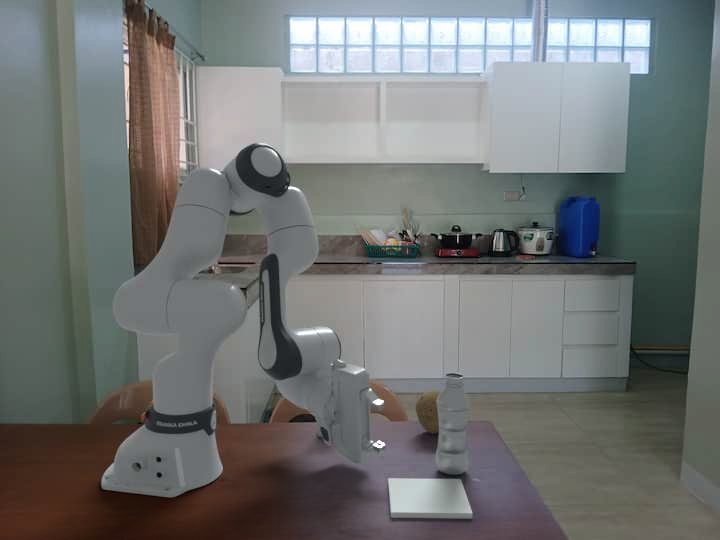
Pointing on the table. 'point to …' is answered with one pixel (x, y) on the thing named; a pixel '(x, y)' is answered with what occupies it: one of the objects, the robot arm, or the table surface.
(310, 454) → the table surface
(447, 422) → the plastic bottle
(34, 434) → the table surface
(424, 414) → the natural sponge
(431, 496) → the bottle pad
